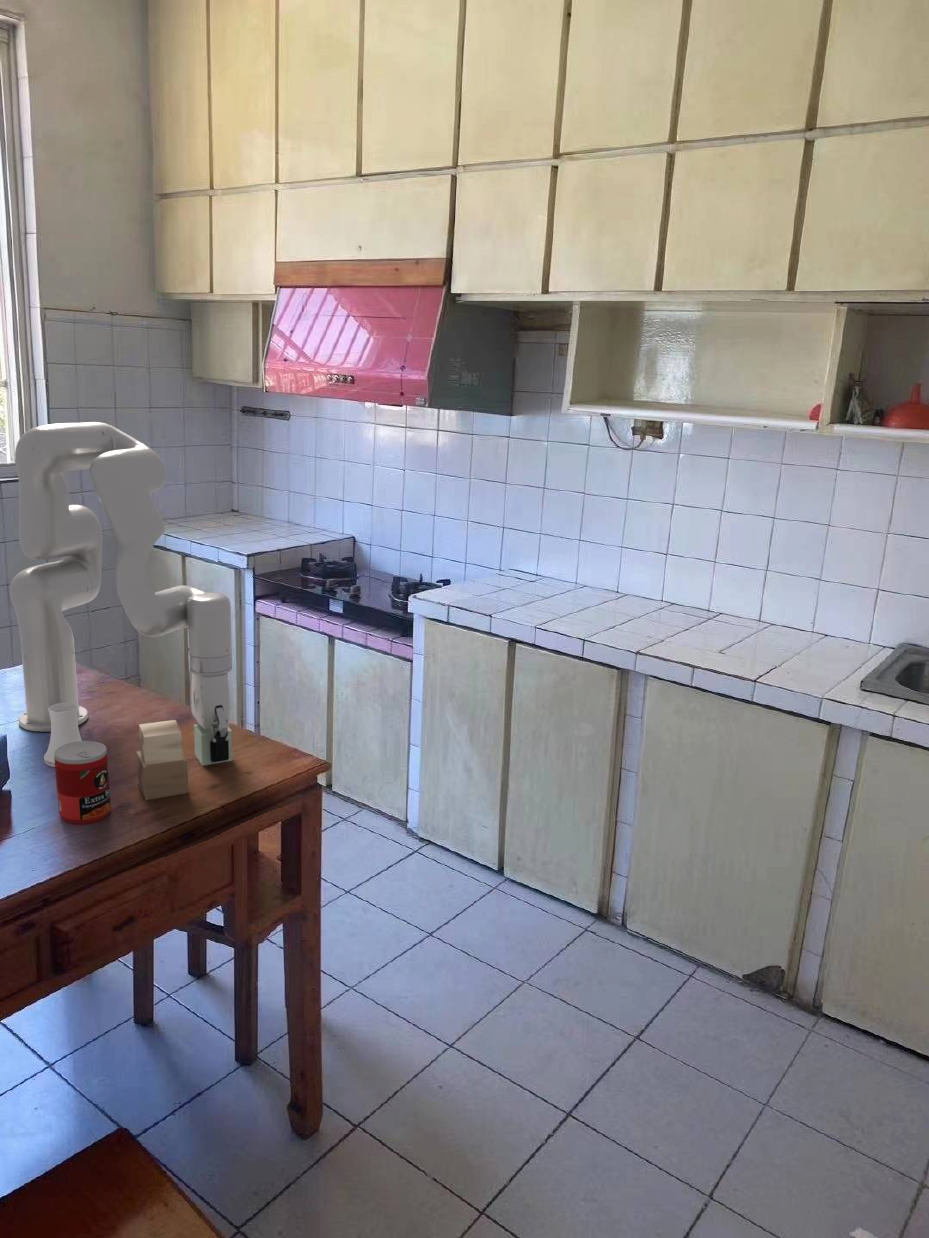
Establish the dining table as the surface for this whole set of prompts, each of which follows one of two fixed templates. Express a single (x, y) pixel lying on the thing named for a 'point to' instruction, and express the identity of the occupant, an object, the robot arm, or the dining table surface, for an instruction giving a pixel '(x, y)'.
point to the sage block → (208, 744)
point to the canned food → (82, 781)
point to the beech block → (160, 742)
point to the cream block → (162, 778)
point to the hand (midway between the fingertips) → (213, 751)
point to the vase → (62, 728)
